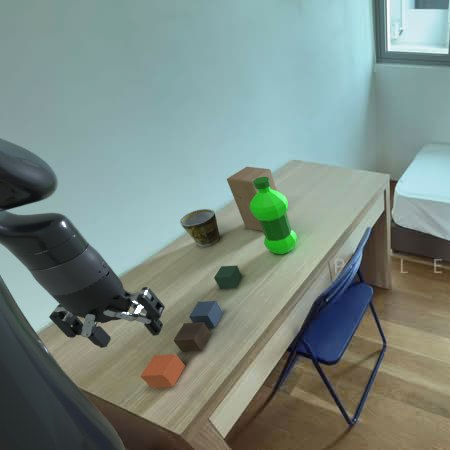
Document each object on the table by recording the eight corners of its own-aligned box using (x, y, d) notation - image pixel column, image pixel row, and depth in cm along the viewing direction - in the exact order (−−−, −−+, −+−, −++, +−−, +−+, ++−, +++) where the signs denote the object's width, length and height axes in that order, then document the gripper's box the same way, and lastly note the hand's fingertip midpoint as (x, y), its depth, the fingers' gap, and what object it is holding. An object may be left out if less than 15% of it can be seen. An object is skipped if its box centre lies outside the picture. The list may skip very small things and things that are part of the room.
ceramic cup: (197, 235, 109) (185, 211, 103) (227, 230, 111) (217, 206, 105) (186, 258, 98) (172, 233, 92) (220, 252, 100) (208, 227, 94)
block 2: (215, 327, 76) (207, 315, 73) (196, 328, 76) (188, 316, 73) (223, 312, 80) (216, 300, 77) (205, 313, 80) (198, 301, 77)
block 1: (173, 386, 64) (162, 375, 61) (151, 387, 64) (139, 376, 61) (185, 365, 68) (175, 353, 65) (164, 367, 68) (154, 355, 65)
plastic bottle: (276, 238, 105) (253, 171, 91) (305, 240, 104) (286, 173, 89) (260, 257, 97) (233, 187, 83) (291, 260, 96) (269, 189, 81)
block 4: (236, 288, 87) (230, 276, 84) (220, 289, 87) (213, 277, 84) (242, 277, 90) (237, 265, 88) (227, 277, 90) (221, 266, 88)
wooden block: (245, 228, 111) (225, 178, 99) (263, 214, 119) (246, 165, 107) (269, 232, 108) (251, 181, 97) (285, 217, 116) (270, 168, 105)
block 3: (202, 351, 71) (193, 339, 68) (182, 352, 71) (172, 340, 68) (211, 334, 74) (203, 322, 72) (192, 335, 74) (184, 323, 72)
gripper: (5, 304, 44) (77, 366, 54) (118, 282, 47) (168, 344, 56) (39, 269, 50) (99, 330, 59) (138, 251, 53) (180, 312, 62)
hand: (133, 337), depth 58 cm, fingers open, 8 cm apart
